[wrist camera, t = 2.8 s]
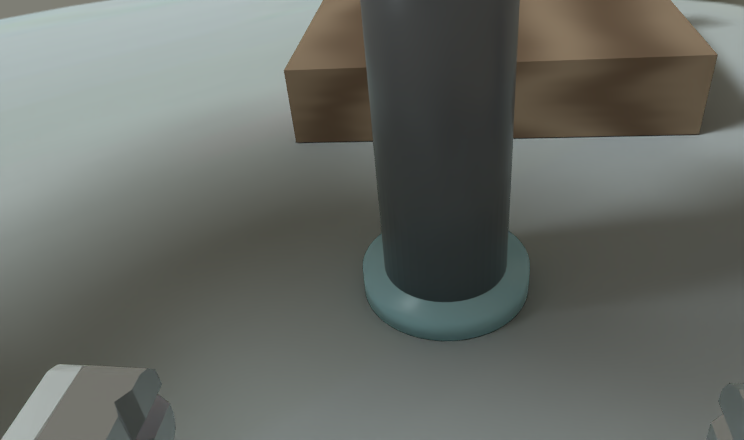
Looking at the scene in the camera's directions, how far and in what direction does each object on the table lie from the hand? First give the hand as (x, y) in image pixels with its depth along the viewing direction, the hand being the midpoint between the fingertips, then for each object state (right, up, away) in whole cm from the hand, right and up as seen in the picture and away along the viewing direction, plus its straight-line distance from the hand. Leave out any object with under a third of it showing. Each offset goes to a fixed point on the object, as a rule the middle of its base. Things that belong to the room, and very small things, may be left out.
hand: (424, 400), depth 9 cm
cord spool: (+2, 0, +14) cm, 15 cm away
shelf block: (+6, +11, +29) cm, 31 cm away
